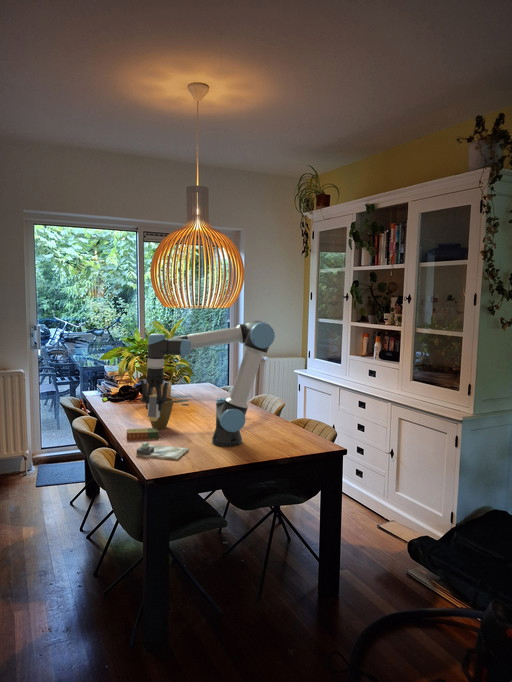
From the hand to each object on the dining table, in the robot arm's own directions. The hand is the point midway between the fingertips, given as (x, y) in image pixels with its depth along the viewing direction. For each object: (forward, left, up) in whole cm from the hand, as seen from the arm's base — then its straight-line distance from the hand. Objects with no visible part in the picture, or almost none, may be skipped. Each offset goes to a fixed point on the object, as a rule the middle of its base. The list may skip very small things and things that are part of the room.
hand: (153, 416), depth 232 cm
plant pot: (+15, -42, -18) cm, 48 cm away
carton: (+16, -22, -18) cm, 33 cm away
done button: (+3, +2, -15) cm, 16 cm away
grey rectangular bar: (0, 0, -2) cm, 2 cm away
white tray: (-4, -2, -18) cm, 18 cm away
